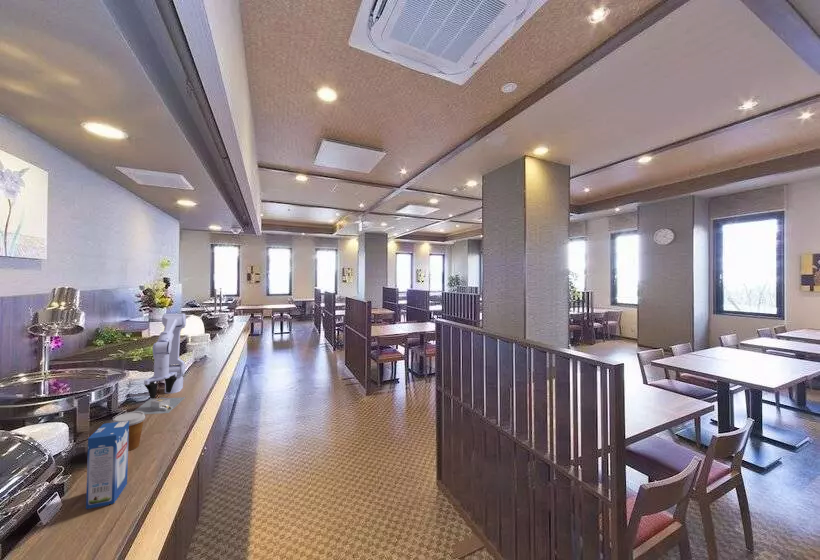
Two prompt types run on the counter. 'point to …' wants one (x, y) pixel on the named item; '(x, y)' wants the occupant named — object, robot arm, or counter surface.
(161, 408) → the metal bracket with prongs
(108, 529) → the counter surface
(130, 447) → the disposable coffee cup
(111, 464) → the milk carton
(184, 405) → the counter surface
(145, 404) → the base plate
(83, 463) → the counter surface
